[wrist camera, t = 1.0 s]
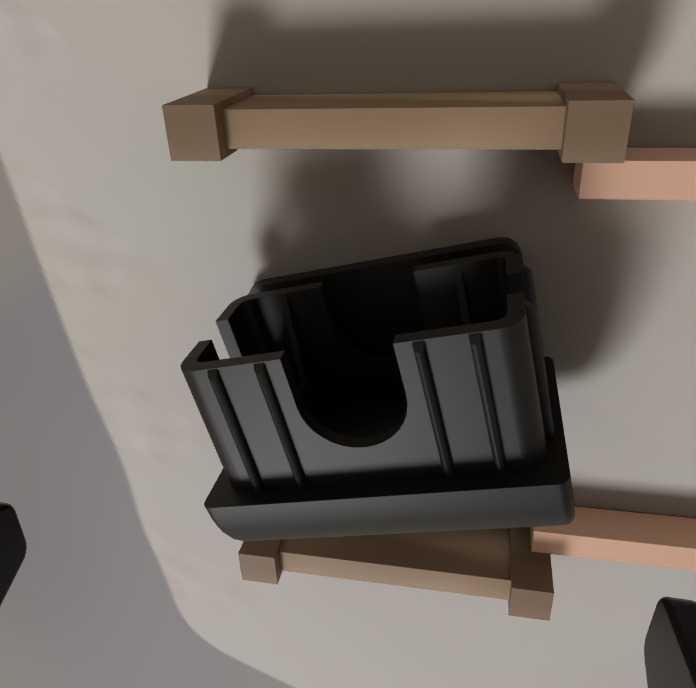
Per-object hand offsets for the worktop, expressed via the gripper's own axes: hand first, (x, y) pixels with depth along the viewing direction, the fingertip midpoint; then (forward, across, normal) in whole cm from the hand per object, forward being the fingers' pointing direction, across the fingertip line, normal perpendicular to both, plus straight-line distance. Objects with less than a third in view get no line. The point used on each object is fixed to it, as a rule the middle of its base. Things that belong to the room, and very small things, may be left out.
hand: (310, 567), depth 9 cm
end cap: (+14, 0, +4) cm, 14 cm away
